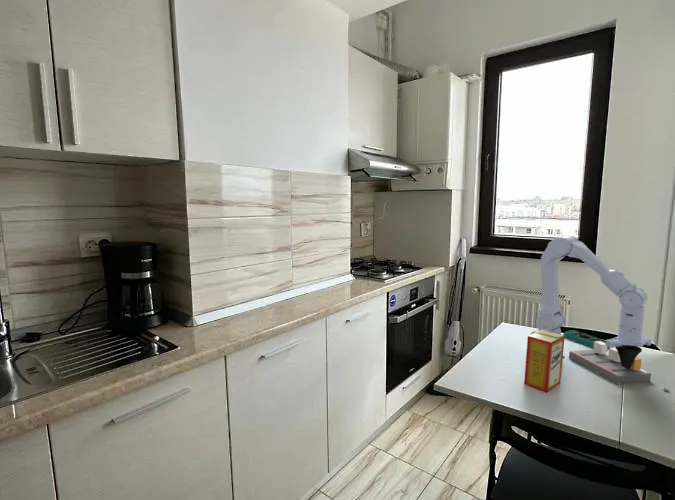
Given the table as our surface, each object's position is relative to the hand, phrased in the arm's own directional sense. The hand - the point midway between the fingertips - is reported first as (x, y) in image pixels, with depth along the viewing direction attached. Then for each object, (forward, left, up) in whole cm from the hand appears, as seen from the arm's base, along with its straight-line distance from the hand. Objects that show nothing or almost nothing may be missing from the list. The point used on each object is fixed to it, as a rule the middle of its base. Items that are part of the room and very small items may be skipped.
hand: (625, 367), depth 115 cm
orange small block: (+3, 0, 0) cm, 3 cm away
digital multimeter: (+12, +28, -4) cm, 31 cm away
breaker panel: (0, +6, -3) cm, 7 cm away
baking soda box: (-29, 0, -4) cm, 30 cm away
